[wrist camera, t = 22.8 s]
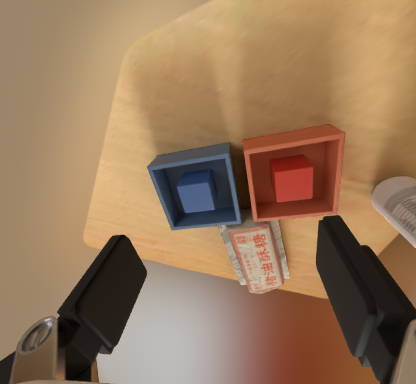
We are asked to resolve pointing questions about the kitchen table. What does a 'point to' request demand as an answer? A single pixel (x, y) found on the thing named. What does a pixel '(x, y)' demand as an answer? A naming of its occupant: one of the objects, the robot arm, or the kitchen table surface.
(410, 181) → the energy drink can
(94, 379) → the robot arm
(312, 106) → the kitchen table surface
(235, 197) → the blue bin
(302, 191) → the red block
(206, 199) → the blue block
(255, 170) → the terracotta bin
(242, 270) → the packaged product
